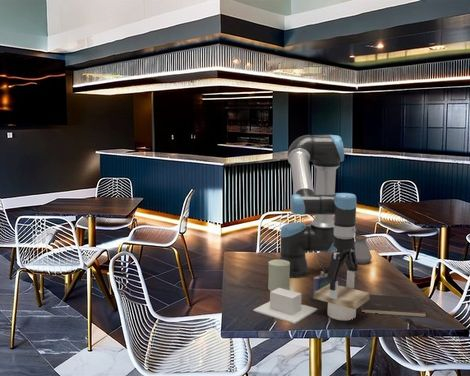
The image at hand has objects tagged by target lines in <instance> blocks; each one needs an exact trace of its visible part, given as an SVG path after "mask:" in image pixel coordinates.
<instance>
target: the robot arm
mask: <svg viewBox="0 0 470 376" xmlns="http://www.w3.org/2000/svg"><path fill="white" fill-rule="evenodd" d="M287 150H288V151H287V161H288V164H290V166H291V168H290V169H291V176H292V177H291V178H292V182H293V183H292V184H293V191H294V194H292V195H291V196H290V212H291V213H292V214H293V215H301V216H304V215H309V216H310V215H311V216H312V215H313V216H314V217H313V218H314V219H313V220H312V221H311V222H310V225H309V226H307V223H305V222H290V223H286V224H284V225H282V226H281V229H280V236H279V237H280V250H279V251H280V256H279V259H278V260H286V261H289V262H290V277H289V278H303V277H306V276H308V275H309V274H310V268H309V265H308V262H307V261H308V260H307V259H306V253H307V252H325V253H327V252H328V253H329V252H332V253H331V260H330V263H329V267H328V271H327V274H328V275H327V280H328V281H330V294H329V298H333V299H337V292H338V285H339V281H338V277H339V275H340V272H341V270H342V267H343V266H344V265H345V264H346V267H347V271H346V286H345V287H347V288H351V289H355V272H358V270H359V269H358V267H359V266H358V265H359V263H357V259H356V254H355V241H356V240H355V238H354V236H356V231H357V229H356V222H357V221H356V217H357V206H358V204H357V196H356V194H354V193H349V192H336V178H337V177H336V175H337V169H338V168H339V167H340V165H341V162H344V160H345V148H344V143H343V140H342V137H341V136H340V135H337V134H336V135H335V134H334V135H333V134H305V135H302V136H299V137H297V138H296V139H295V140H294V141H293V142H292V143H291V145H290V146H289V147H288V149H287ZM310 162H312V163H313V164H312V165H313V166H314V168H316V170H315V171H316V174H315V178H316V179H315V190H314V185H313V178H312V172H311V167H310ZM335 251H336V252H335Z"/></svg>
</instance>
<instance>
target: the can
mask: <svg viewBox="0 0 470 376" xmlns="http://www.w3.org/2000/svg"><path fill="white" fill-rule="evenodd" d="M290 278H291V277H290V262H289V261H286V260H279V259H272V260H269V261H268V283H267V284H268V285H267V289H268V291H270V292H271V291H273V290H275V289H277V288H282V289H286V290H290ZM290 291H291V290H290Z"/></svg>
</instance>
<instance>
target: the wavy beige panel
mask: <svg viewBox="0 0 470 376" xmlns="http://www.w3.org/2000/svg"><path fill="white" fill-rule="evenodd" d="M329 294H330V284H328V285H327V286H325V287H323V288H321V289H319V290H318V291H316V292H315V299H318V300H319V301H322V302H324V303H326V302H327V303H328V302H329V303H333V304H337V305H340V306H344V307H348V308H351V309H356V310H357V309H359V308H361V305H362V304H364V303H365V302H367V301H368V300H370V294H371V293H370V292H367V291H363V290H358V289H355V288H349V287H346V286H343V285H339V284H338V292H337V299H333V298H329ZM315 299H314V300H315Z"/></svg>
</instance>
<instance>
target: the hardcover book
mask: <svg viewBox="0 0 470 376" xmlns="http://www.w3.org/2000/svg"><path fill="white" fill-rule="evenodd" d="M360 310H361V313H362V312H365V313H364V314H375V313H378V314H377V315H393V316H408V317H423V318H426V316H427V311H426V309H425V308H424V306H423V304H422V303H421V301H420V299H419V298H418V297H417V296H400V295H389V294H388V295H386V294H385V295H383V294H371V293H370V300H368V301H367V302H365V303H364V304H362V305H361V306H360Z"/></svg>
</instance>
